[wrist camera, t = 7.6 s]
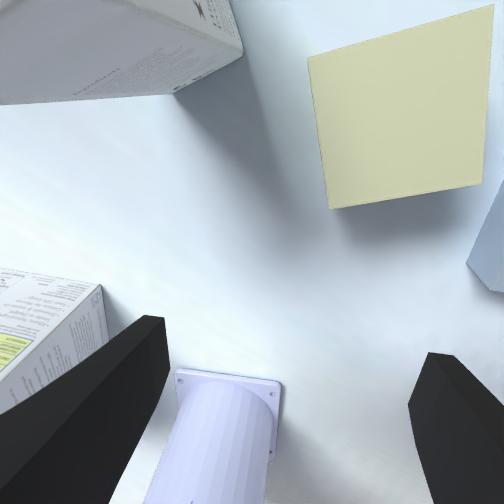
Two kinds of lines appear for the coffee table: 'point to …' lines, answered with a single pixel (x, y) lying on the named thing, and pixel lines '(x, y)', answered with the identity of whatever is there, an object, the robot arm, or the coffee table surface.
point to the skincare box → (110, 47)
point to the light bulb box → (45, 330)
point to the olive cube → (404, 110)
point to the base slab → (490, 247)
